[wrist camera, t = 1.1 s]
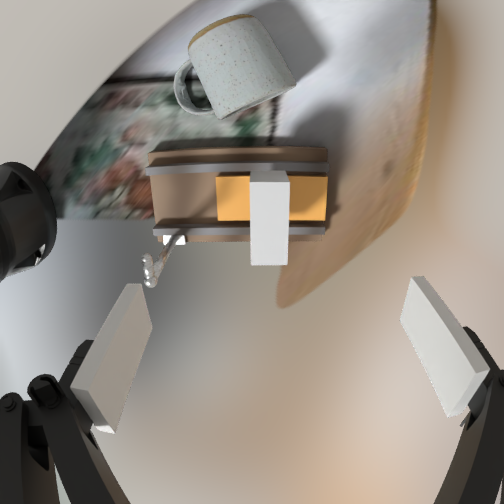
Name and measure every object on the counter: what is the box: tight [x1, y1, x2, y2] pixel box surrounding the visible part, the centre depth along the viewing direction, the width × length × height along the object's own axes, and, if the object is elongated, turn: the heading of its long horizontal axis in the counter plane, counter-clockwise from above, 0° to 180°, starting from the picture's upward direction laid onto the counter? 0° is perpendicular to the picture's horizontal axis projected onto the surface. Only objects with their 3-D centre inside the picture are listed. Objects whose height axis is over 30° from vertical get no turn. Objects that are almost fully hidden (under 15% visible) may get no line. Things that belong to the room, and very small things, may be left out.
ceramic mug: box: [174, 14, 296, 120], centre depth 24 cm, size 11×8×8 cm
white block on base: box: [216, 171, 328, 265], centre depth 28 cm, size 11×7×8 cm, turn 91°
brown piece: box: [145, 146, 329, 242], centre depth 32 cm, size 18×10×3 cm, turn 91°
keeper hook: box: [141, 235, 186, 287], centre depth 29 cm, size 2×3×10 cm
